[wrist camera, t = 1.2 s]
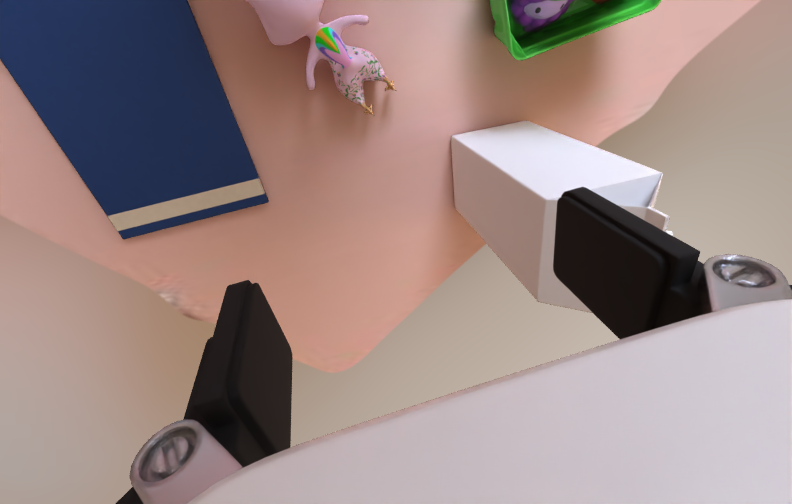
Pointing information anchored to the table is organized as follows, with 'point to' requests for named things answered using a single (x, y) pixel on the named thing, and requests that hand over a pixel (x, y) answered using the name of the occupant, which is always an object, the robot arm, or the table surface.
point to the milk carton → (540, 195)
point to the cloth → (132, 107)
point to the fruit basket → (557, 21)
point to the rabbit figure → (322, 44)
